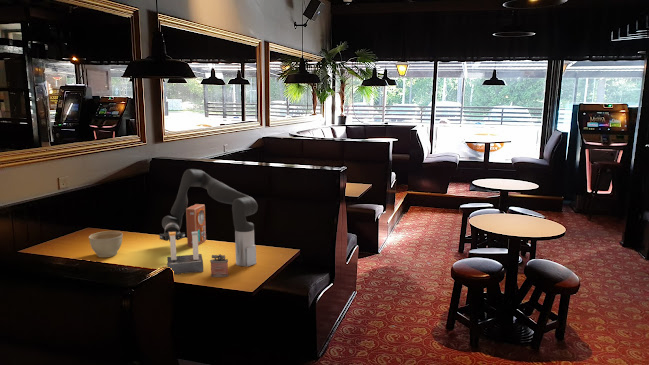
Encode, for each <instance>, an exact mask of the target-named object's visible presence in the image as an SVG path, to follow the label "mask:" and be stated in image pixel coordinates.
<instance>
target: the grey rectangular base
mask: <svg viewBox="0 0 649 365" xmlns="http://www.w3.org/2000/svg"><path fill="white" fill-rule="evenodd" d="M198 254H199V259H198V260H193V254H186V255H176V258H177V260H171V256H168V257H167V258H166V259H167V261H166V262H167V263H166V266H167V267H170V268H172V270H173V271H174V274H175V275H182V274H181V273H184V274H191V273H201V272H204V258H203V255H202V253H198Z"/></svg>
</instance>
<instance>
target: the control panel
mask: <svg viewBox="0 0 649 365" xmlns="http://www.w3.org/2000/svg"><path fill="white" fill-rule="evenodd" d="M185 218H186V219H185V220H186V236H187V241H186V242H187V247H193V242H192V232H196V231H198V246H200V245H202V244H204V243H205V242H206V241H207V233H206V232H207V230H206V227H207V226H206V206H205V204H199V203H195V204H194V205H191V206H189V207H187V208H186V210H185Z"/></svg>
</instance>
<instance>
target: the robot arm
mask: <svg viewBox="0 0 649 365" xmlns="http://www.w3.org/2000/svg"><path fill="white" fill-rule="evenodd" d="M190 187H195V188H196V187H199V188H203V189H205V190H207V194H208V196H209V197H211V199H214V200H215V201H217V202H219V203H223V204H229V205H232V206H231V211H232V222H233V226H234V239H235V240H234V242H235V265H236V266H237V267H246V268H247V267H251V266H254V265H256V264H257V245H256V244H255V224H254V223H253V222H251V221H250V222H249V221H247V217H248V216H252V215H254V214H256V213H257V212H258V208H259V204H258V203H257V201H256V200H255V199H254V198H253V197H252V196H249V195H248V194H245V193H243V192H240V191H237V190H236V189H234V188H232V187H230V186H229V185H227V184H225V183H224V182H222V181H219V180H217V179H216V178H213V177H212V176H210V175H209V174H208V173H206V172H205V171H203V170H202V169H196V168H188V169H186V170H185V171H184V172H183V174H182V177H181V180H180V185H179V188H178V193H177V195H176V197H175V201H174V203H173V205H172V207H171V210H170V214H171V215H165V216H164V217H163V218H162V220H161V226H162V228H163V229H164V233H159V235H158V236H159V240H162V241H165V242H168V241H169V243H170V236H169V232H176V235H175V239H176V241H179V240H182V239H184V238H185V237H186V234H185V233H186V232H183V231H182V232H181V231H180V229H181V228H182V224H183V216H184V214H185V213H186V208H188V206H189V205H188V204H189V199H188V190H189V189H190Z"/></svg>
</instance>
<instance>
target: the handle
mask: <svg viewBox="0 0 649 365" xmlns="http://www.w3.org/2000/svg"><path fill="white" fill-rule="evenodd" d="M192 242H193V246H192V255H193V260H198V259H199V254H200V253H199V245H198V231H196V232H192Z"/></svg>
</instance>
